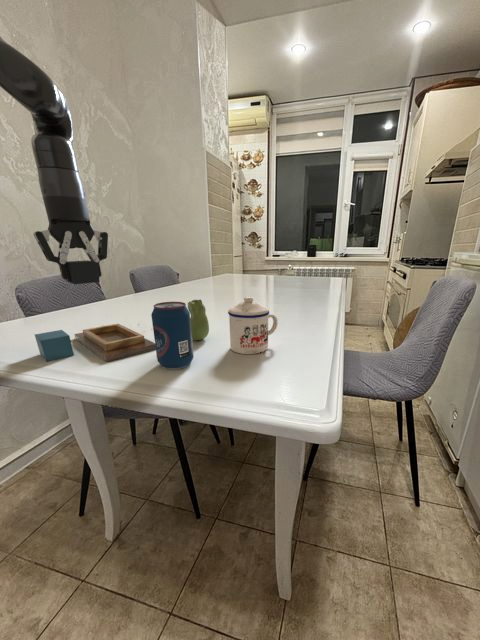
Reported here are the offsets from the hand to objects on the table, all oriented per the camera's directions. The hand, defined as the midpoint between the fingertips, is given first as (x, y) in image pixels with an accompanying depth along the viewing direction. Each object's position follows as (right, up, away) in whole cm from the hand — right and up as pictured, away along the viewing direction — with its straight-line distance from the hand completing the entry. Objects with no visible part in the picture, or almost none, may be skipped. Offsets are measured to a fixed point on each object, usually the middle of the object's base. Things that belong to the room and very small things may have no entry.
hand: (83, 280), depth 66 cm
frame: (+5, -14, +4) cm, 16 cm away
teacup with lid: (+39, -15, +2) cm, 42 cm away
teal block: (-4, -17, -3) cm, 18 cm away
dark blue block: (0, 0, 0) cm, 0 cm away
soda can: (+24, -19, -8) cm, 31 cm away
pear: (+25, -13, +7) cm, 29 cm away
